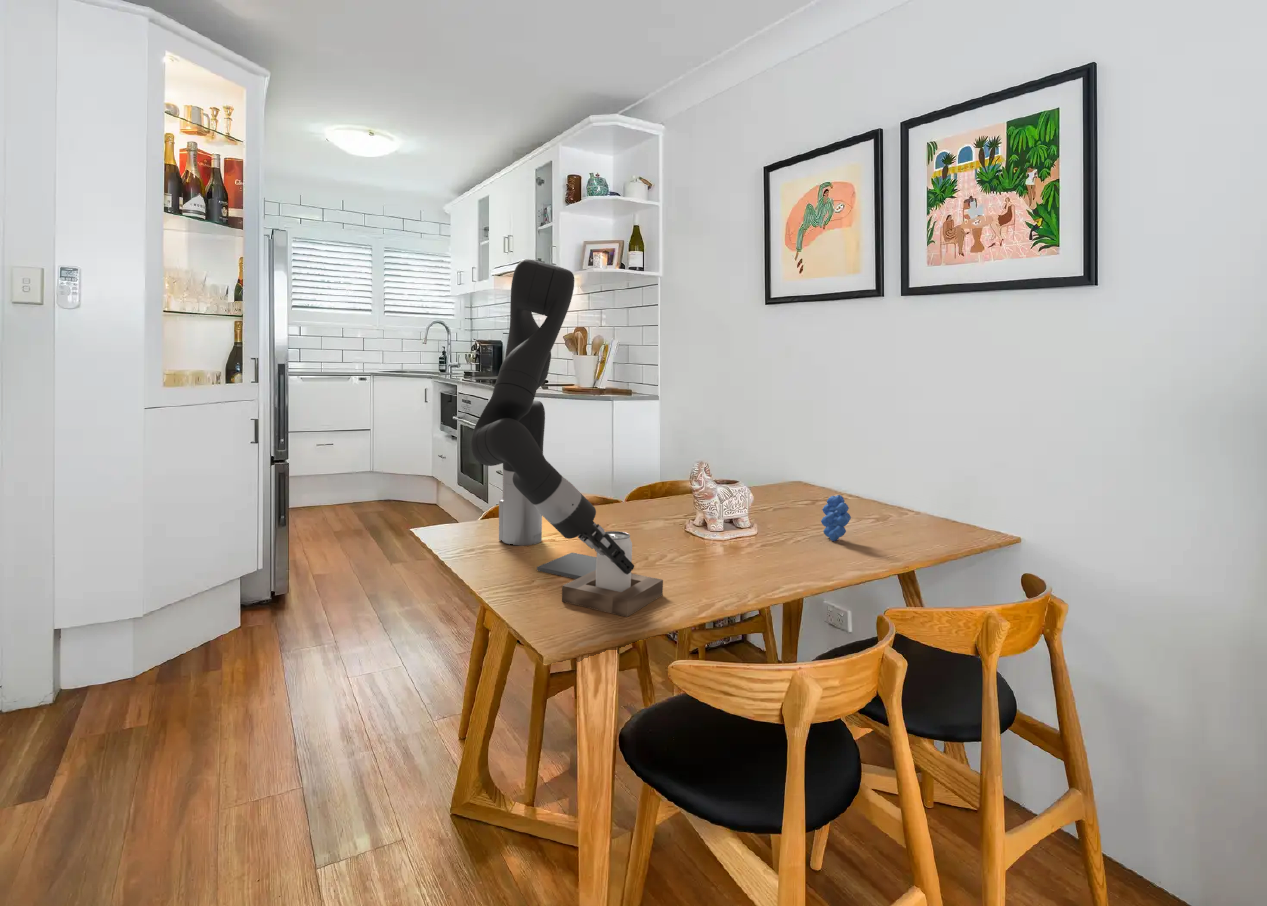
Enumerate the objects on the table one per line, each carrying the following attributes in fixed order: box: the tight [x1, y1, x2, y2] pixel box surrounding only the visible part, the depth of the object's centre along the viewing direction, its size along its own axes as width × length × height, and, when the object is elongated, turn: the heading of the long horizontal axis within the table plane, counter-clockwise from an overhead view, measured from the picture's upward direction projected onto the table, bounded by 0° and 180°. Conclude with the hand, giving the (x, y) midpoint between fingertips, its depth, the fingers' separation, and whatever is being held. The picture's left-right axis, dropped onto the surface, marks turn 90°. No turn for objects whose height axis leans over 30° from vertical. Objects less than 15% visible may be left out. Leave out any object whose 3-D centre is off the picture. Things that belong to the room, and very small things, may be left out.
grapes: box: [820, 494, 852, 542], centre depth 181 cm, size 12×7×12 cm, turn 10°
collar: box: [561, 570, 664, 618], centre depth 134 cm, size 14×14×3 cm
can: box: [596, 530, 633, 592], centre depth 133 cm, size 6×6×12 cm
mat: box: [536, 552, 597, 580], centre depth 152 cm, size 13×13×1 cm
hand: (622, 565), depth 134 cm, fingers closed on can, 5 cm apart
